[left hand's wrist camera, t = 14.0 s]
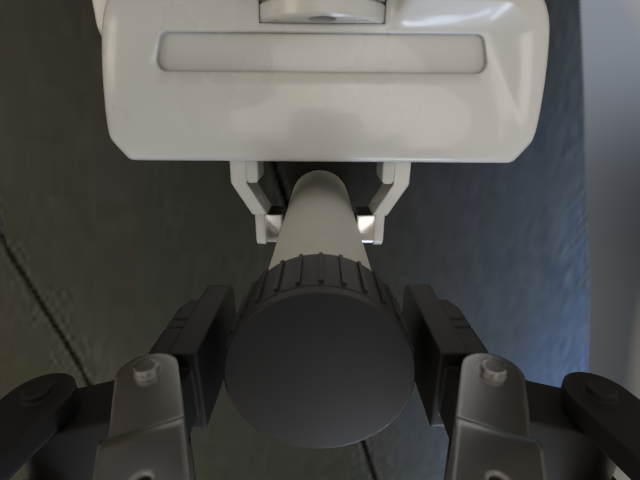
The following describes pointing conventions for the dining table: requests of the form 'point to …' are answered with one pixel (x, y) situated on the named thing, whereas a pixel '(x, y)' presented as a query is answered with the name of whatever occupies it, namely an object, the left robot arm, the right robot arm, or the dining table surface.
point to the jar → (319, 221)
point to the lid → (319, 353)
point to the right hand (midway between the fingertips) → (320, 241)
